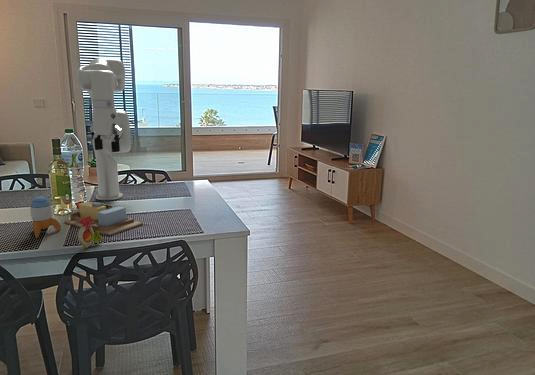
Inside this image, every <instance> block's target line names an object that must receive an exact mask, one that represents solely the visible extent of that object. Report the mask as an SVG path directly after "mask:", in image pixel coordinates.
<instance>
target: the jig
mask: <svg viewBox="0 0 535 375" xmlns="http://www.w3.org/2000/svg"><path fill="white" fill-rule="evenodd" d="M80 219H82V218H80V211H79V210H78V211H75V212H71V213H70V219H66V220H63V223H64V224H66V225H71V226H73V227H77V228H79V229H80V228H81V227H82V224H80V223H79V220H80ZM140 225H141V226H143V225H144V222H141V221H138V220H135V218H133V217H127V216H126V220H125V221H122V222H119V223H116V224H113V225H110V226H107V227H103V226H99V223H98V219H95V220H94V221H93V222H92V223H91V224H90V227H92V229H93V231H98V232H99V234H101V233H102V234H101V235H104V234H105V235H106V236H108V237H112V236H114V234H115V235H117V233H118V234H119V233H120V232H121V233H123V232H126V231H129V230H132V229H134V227H135V228H138V227H141V226H140ZM137 226H138V227H137ZM105 235H104V236H105ZM111 235H112V236H111Z"/></svg>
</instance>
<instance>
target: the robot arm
mask: <svg viewBox="0 0 535 375" xmlns="http://www.w3.org/2000/svg"><path fill="white" fill-rule="evenodd" d="M76 71H77V73H76V83H77V86H78V88H79V89H80V90H82V91H86V92H87V94H88V95H89V97H90V99H91V104H92V106H91V107H92V125H91V126H90V127H89V131H90V133H91V136H92V140H91V141H92V148H93V151H94V156H95V162H96V163H95V165H96V176H97V177H96V178H97V188H95V192H97V194H96V195H95V199H96V200H99V201H114V200H119V199H121V198H123V192H120V185H119V184H120V183H119V171H118V170H119V169H118V161H117V159H116V158H115V157H114V156H113V155H111V154H118V153H119V154H121V153H129V152H130V151H131V149H132V142H131V141H132V140H131V126H130V118H129V115H128V113H127V112H126V111H125V110H122V109H121V110H117V109H116V107H115V96H114V95H115V93H121V92H123V91H124V90H125V88H126V87H125V86H126V68H125V65H124V62H123V61H122V60H121V59H119V58H108V57H107V58H105V57H101V58H100V57H97V58H94V59H92V60H91V61H90V62H89V64H86V65H83V66H80V67H78V69H77V70H76Z"/></svg>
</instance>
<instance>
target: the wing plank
mask: <svg viewBox="0 0 535 375" xmlns="http://www.w3.org/2000/svg"><path fill="white" fill-rule="evenodd" d="M126 211H127V209H126V207H123V206H114V207H111V208H108V209H107V208H106V210H104V211H100V212H98V223H99V226H103V227H107V226H110V225H113V224H116V223H119V222H122V221H125V220H126V217H127V212H126Z"/></svg>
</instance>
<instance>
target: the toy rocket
mask: <svg viewBox="0 0 535 375" xmlns="http://www.w3.org/2000/svg"><path fill="white" fill-rule="evenodd" d="M29 210H30V211H29V212H30V216H31V220H32V227H33V231H34V236H35V238H36V239H38V238H39V236H40V233H41V232H42V233H43V232H47V231H48V230H49V227H53V228H54V229H55V230H57V231H59V232H60V231H61V227H62V226H61V223H60V221H59V220H57V219H56V218H54V217H53V210H52V205H51V202H50V201H49V199H48V198H47V197H45V196H36V197H35V198H33V199H32V201H31V203H30V209H29Z"/></svg>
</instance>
